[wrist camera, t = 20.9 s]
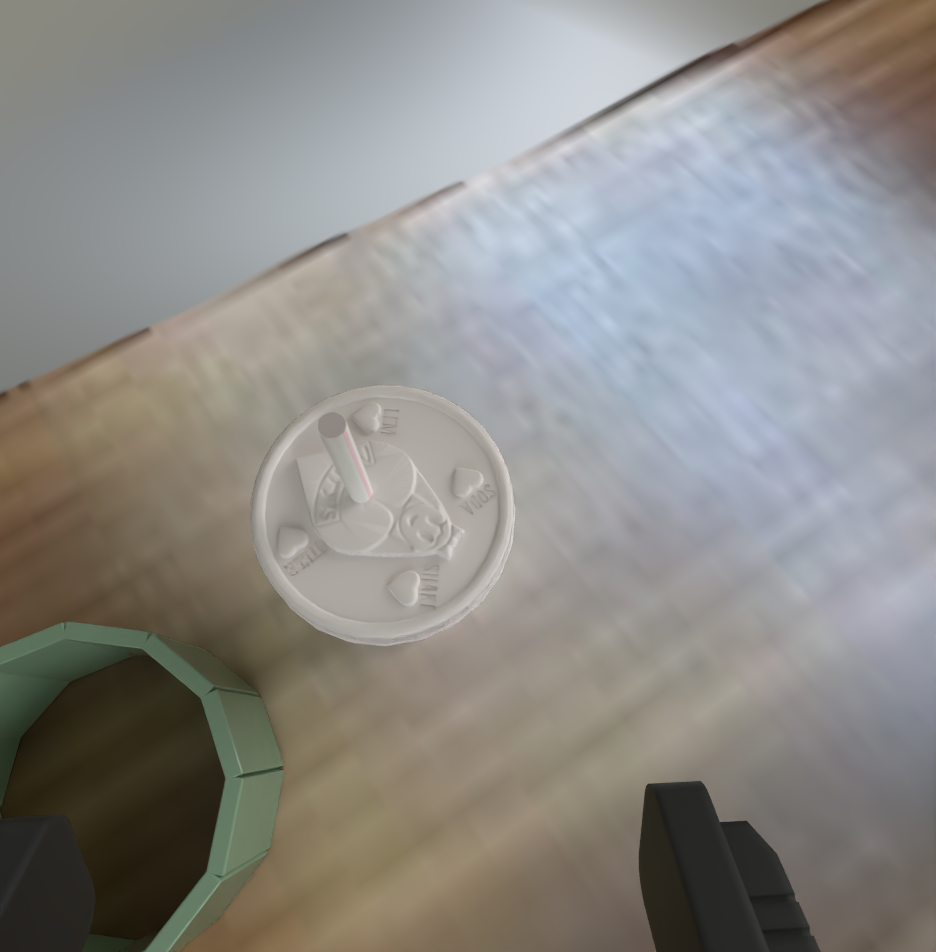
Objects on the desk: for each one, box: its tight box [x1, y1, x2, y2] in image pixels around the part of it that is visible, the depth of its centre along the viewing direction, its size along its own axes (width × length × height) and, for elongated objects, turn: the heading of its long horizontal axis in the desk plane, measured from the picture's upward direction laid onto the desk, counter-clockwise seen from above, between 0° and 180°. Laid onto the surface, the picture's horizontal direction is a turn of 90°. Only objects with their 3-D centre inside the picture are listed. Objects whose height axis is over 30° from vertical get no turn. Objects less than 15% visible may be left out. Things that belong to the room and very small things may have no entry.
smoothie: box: [250, 385, 515, 646], centre depth 21 cm, size 6×6×14 cm
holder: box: [0, 621, 284, 952], centre depth 23 cm, size 9×9×5 cm
